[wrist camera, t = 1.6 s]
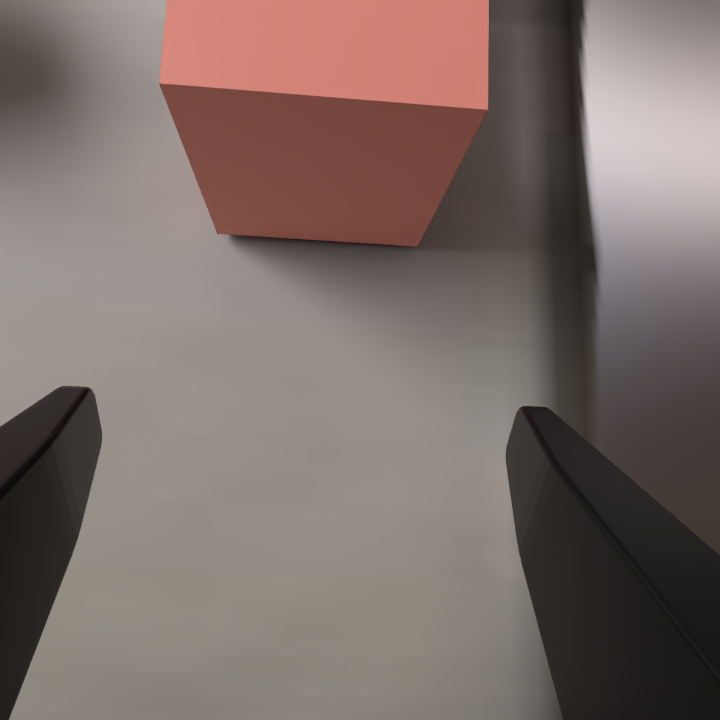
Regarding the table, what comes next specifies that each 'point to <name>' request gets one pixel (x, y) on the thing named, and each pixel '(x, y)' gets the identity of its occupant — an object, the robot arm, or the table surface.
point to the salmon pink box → (326, 111)
